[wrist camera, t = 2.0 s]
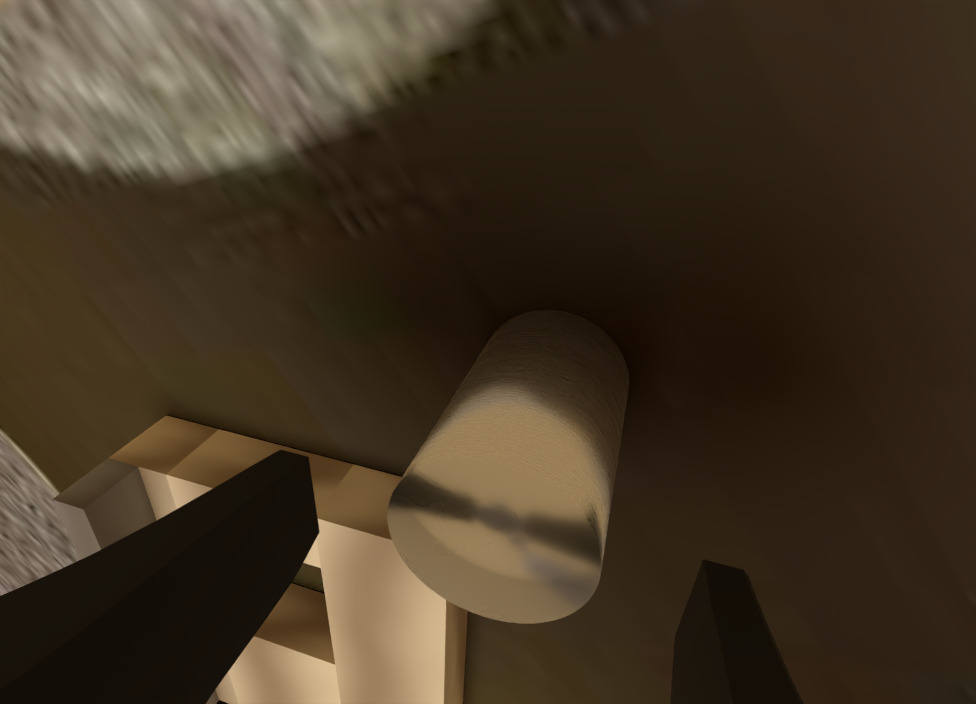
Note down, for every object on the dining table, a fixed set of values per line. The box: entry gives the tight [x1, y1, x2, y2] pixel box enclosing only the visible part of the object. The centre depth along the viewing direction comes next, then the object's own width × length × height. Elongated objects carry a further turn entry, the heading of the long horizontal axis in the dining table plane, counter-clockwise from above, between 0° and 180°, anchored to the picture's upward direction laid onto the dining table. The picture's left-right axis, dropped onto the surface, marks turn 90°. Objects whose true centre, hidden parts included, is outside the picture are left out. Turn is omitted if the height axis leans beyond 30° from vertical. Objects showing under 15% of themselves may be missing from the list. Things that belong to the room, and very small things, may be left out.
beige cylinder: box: [387, 310, 629, 623], centre depth 13 cm, size 4×4×6 cm
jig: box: [52, 416, 468, 704], centre depth 21 cm, size 12×14×4 cm
